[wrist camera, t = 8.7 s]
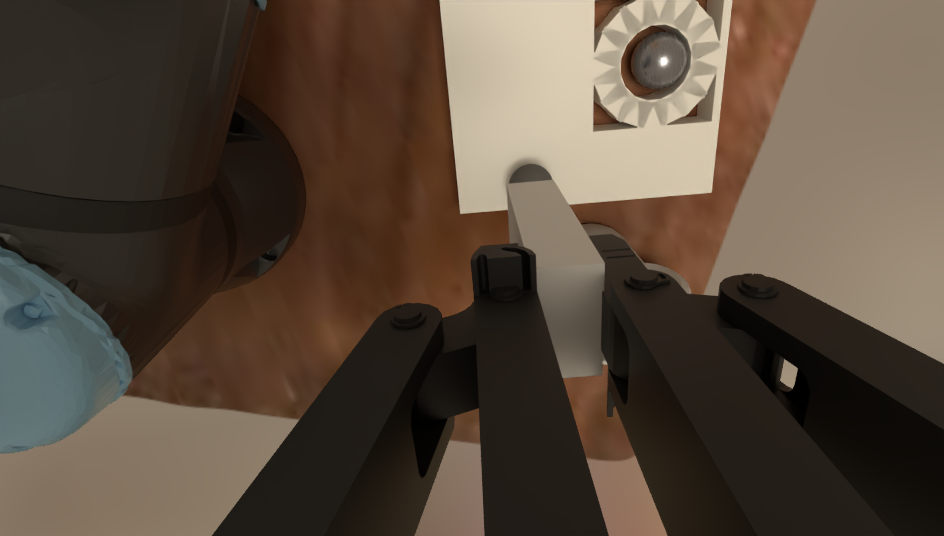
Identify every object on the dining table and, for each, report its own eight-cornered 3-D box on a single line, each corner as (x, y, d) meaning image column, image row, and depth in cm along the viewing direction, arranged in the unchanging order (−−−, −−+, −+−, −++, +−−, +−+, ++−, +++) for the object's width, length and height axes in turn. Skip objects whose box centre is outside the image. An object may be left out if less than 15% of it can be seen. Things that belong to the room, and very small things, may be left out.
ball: (688, 85, 36) (635, 89, 37) (690, 29, 34) (635, 35, 36) (683, 88, 33) (626, 93, 34) (686, 27, 31) (627, 34, 33)
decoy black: (508, 203, 37) (511, 216, 34) (505, 161, 36) (509, 171, 33) (550, 199, 37) (557, 212, 34) (549, 157, 36) (556, 167, 33)
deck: (460, 203, 40) (460, 213, 38) (433, -74, 32) (431, -82, 30) (697, 183, 39) (711, 192, 37) (724, -102, 32) (744, -112, 30)
